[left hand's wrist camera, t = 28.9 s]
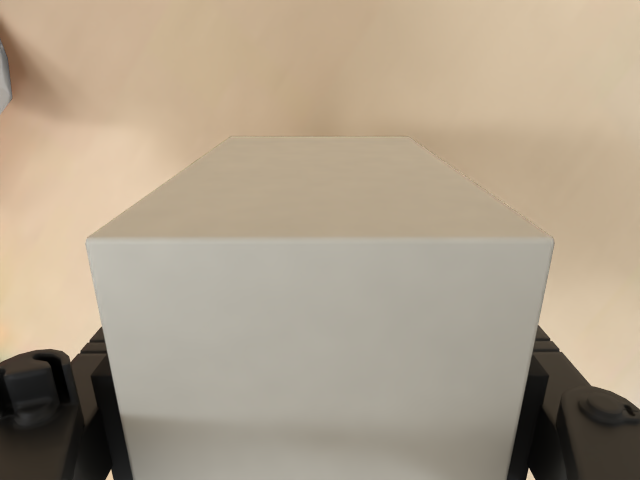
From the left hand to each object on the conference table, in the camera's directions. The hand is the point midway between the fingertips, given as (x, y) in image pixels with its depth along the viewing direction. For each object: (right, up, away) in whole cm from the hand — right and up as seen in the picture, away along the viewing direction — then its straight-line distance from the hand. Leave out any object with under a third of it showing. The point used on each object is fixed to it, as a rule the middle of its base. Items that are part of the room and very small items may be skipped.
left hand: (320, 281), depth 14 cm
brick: (0, +1, +3) cm, 3 cm away
